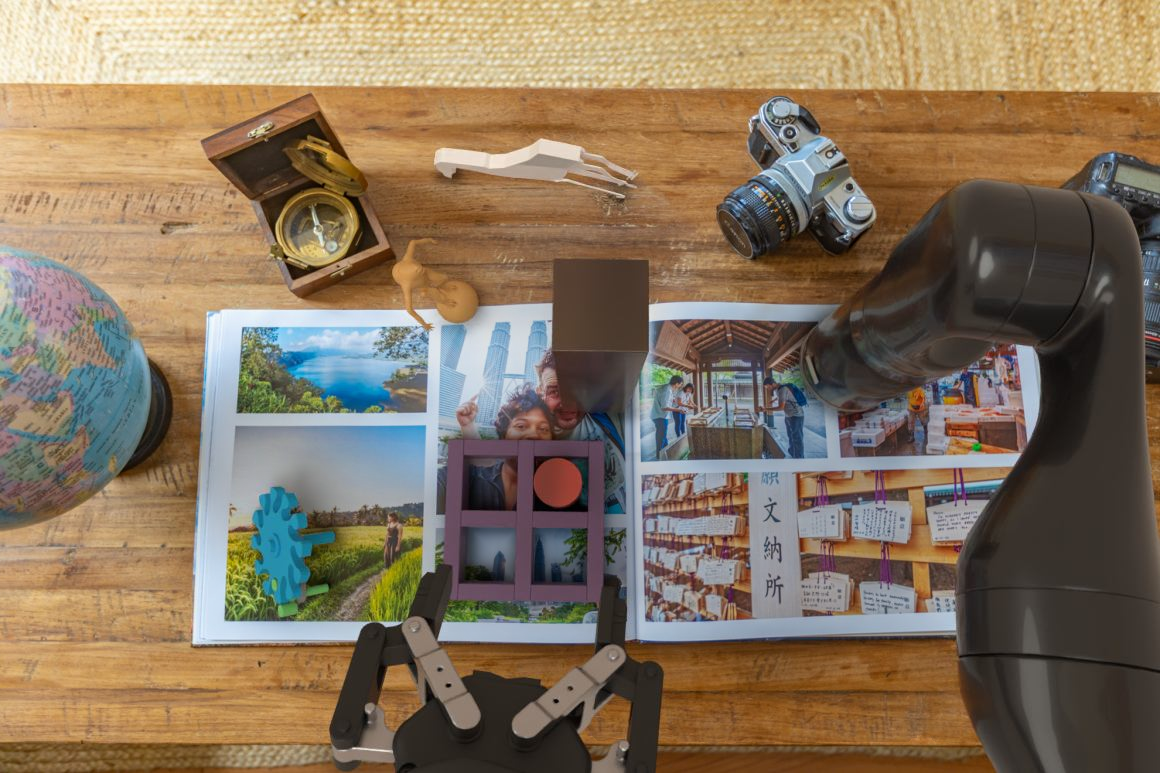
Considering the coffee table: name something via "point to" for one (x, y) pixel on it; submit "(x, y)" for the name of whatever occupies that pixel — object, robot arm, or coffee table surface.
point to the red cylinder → (558, 483)
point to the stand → (599, 331)
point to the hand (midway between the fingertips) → (526, 585)
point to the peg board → (523, 519)
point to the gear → (285, 550)
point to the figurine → (434, 289)
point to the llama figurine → (532, 163)
